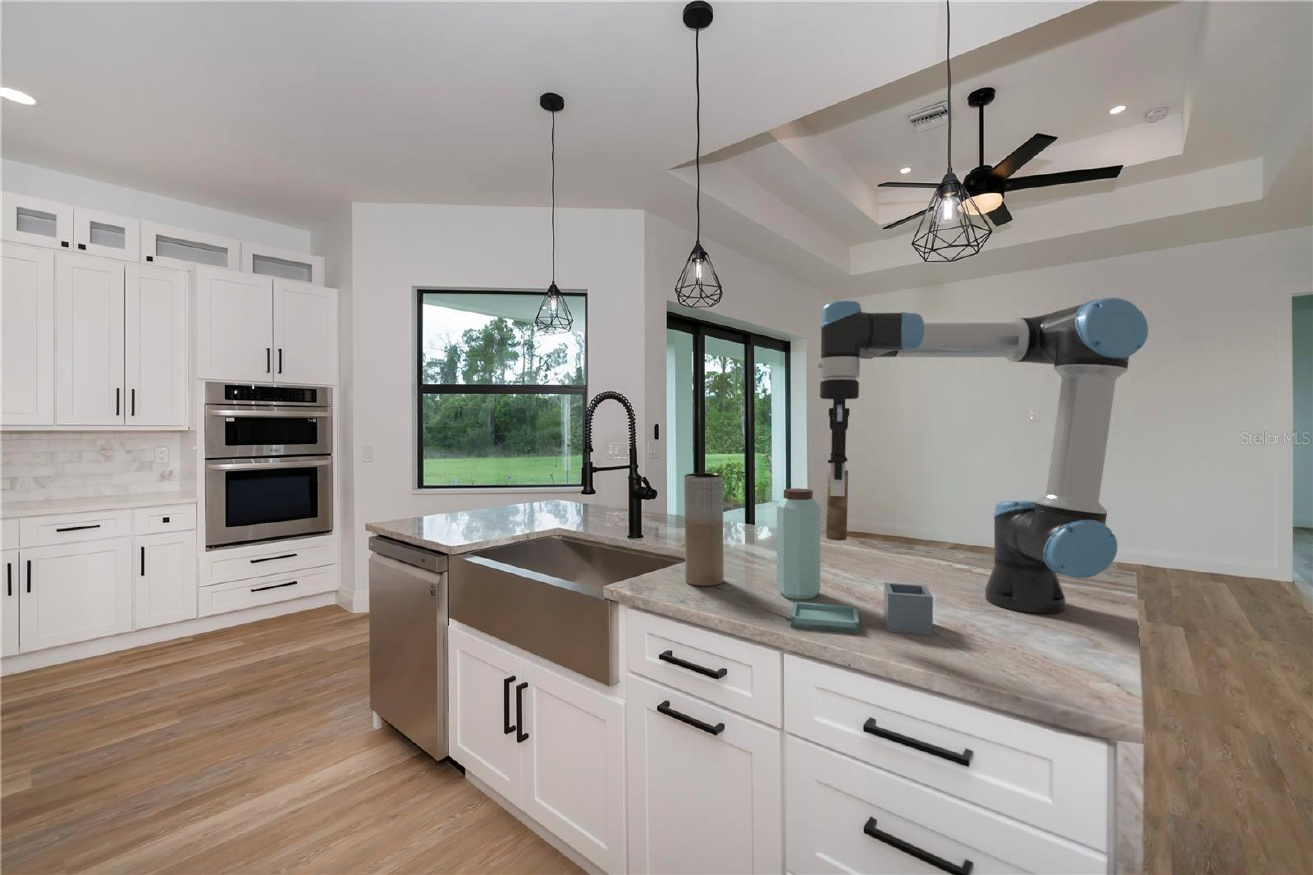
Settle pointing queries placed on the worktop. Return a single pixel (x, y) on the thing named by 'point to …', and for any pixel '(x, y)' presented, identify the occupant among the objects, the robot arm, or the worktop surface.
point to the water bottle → (798, 544)
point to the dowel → (836, 512)
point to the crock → (908, 608)
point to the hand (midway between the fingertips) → (837, 494)
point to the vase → (704, 529)
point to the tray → (825, 617)
